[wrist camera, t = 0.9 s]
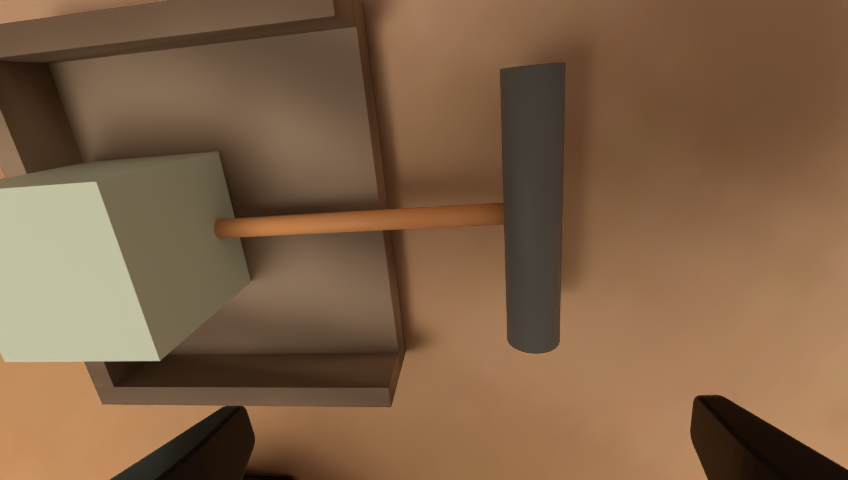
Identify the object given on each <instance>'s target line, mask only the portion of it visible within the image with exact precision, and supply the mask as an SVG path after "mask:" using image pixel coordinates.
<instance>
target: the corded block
mask: <svg viewBox="0 0 848 480" xmlns="http://www.w3.org/2000/svg"><path fill="white" fill-rule="evenodd" d="M500 86H501V123H502V160H503V197H504V203H492V204H474V205H457V206H439V207H421V208H404V209H386V210H369V211H351V212H334V213H316V214H299V215H281V216H263V217H246V218H235V216H234V212H233V208H232V204H231V200H230V196H229V192H228V188H227V184H226V180H225V176H224V172H223V168H222V164H221V160H220V156H219V152H218V151H215V152H202V153H190V154H178V155H165V156H153V157H141V158H129V159H116V160H104V161H92V162H86V163H81V164H76V165H71V166H66V167H60V168H55V169H50V170H45V171H40V172H35V173H29V174H24V175H19V176H14V177H9V178H4V179H0V353H1V355H2V357H3V359H4V361H5V362H84V361H161V360H162V359H163V358H164V357H165V356H166V355H167V354H169V353H170V352H171V351H172V350H173V349H174V348H176V347H177V346H178V345H179V344H180V343H181V342H182V341H184V340H185V339H186V338H187V337H188V336H189V335H190V334H192V333H193V332H194V331H195V330H196V329H197V328H199V327H200V326H201V325H202V324H203V323H204V322H205V321H207V320H208V319H209V318H210V317H211V316H212V315H214V314H215V313H216V312H217V311H218V310H219V309H220V308H222V307H223V306H224V305H225V304H226V303H227V302H229V301H230V300H231V299H232V298H233V297H234V296H235V295H237V294H238V293H239V292H240V291H241V290H242V289H243V288H245V287H246V286H247V285H248V284H249V283H250V282H251V279H250V275H249V271H248V268H247V264H246V260H245V256H244V252H243V248H242V244H241V240H240V237H258V236H278V235H298V234H318V233H338V232H358V231H378V230H398V229H418V228H438V227H458V226H478V225H498V224H504V234H505V271H506V308H507V339H508V342H509V344H510V345H511V346H512V347H514V348H515V349H517V350H520V351H522V352H526V353H536V354H537V353H545V352H549V351H551V350H553V349H555V348H556V347H557V346H558V345H559V342H560V296H561V249H562V202H563V155H564V108H565V63H549V64H538V65H529V66H520V67H512V68H505V69H500Z"/></svg>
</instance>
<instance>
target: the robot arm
mask: <svg viewBox="0 0 848 480" xmlns="http://www.w3.org/2000/svg"><path fill="white" fill-rule="evenodd" d="M690 433H691V439H692V443H693V445H694V448H695V450H696V452H697V455H698V457H699V460H700V462H701V464H702V467H703V469H704V471H705V474H706V476H707V478H708V480H848V470H847V469H845V468H844V467H842V466H840V465H839V464H837V463H835V462H834V461H832V460H830V459H829V458H827V457H825V456H823V455H822V454H820V453H818V452H817V451H815V450H813V449H812V448H810V447H808V446H806V445H805V444H803V443H801V442H800V441H798V440H796V439H795V438H793V437H791V436H790V435H788V434H786V433H784V432H783V431H781V430H779V429H778V428H776V427H774V426H773V425H771V424H769V423H767V422H766V421H764V420H762V419H761V418H759V417H757V416H756V415H754V414H752V413H750V412H749V411H747V410H745V409H744V408H742V407H740V406H739V405H737V404H735V403H734V402H732V401H730V400H728V399H727V398H725V397H723V396H720V395H699V396H696V397H695V399H694V402H693V409H692V419H691V428H690ZM254 443H255V435H254V432H253V429H252V425H251V422H250V419H249V416H248V413H247V410H246V409H245V408H244V407H243V406H225V407H222V408H221V409H219V410H218V411H216V412H214V413H213V414H211V415H210V416H208V417H207V418H205V419H204V420H202V421H200V422H199V423H197V424H196V425H194V426H193V427H191V428H189V429H188V430H186V431H185V432H183V433H182V434H180V435H179V436H177V437H175V438H174V439H172V440H171V441H169V442H168V443H166V444H165V445H163V446H161V447H160V448H158V449H157V450H155V451H154V452H152V453H151V454H149V455H147V456H146V457H144V458H143V459H141V460H140V461H138V462H137V463H135V464H133V465H132V466H130V467H129V468H127V469H126V470H124V471H123V472H121V473H119V474H118V475H116V476H115V477H113V478H112V479H110V480H294V479H292V478H290V477H275V476H246V475H244V472H245V469H246V467H247V464H248V461H249V458H250V456H251V453H252V450H253V447H254Z"/></svg>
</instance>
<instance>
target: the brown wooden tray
mask: <svg viewBox="0 0 848 480" xmlns="http://www.w3.org/2000/svg"><path fill="white" fill-rule="evenodd" d="M215 151H218V152H219V156H220V160H221V164H222V168H223V172H224V176H225V180H226V184H227V188H228V192H229V196H230V200H231V204H232V208H233V212H234V216H235V218H246V217H263V216H281V215H299V214H316V213H334V212H351V211H369V210H386V209H388V204H387V196H386V188H385V180H384V172H383V164H382V155H381V147H380V139H379V131H378V123H377V115H376V107H375V98H374V90H373V82H372V74H371V66H370V58H369V49H368V41H367V33H366V25H365V17H364V9H363V3H361V2H360V1H359V0H171V1H164V2H156V3H149V4H142V5H135V6H127V7H120V8H113V9H106V10H98V11H91V12H84V13H76V14H69V15H62V16H55V17H47V18H40V19H33V20H26V21H18V22H11V23H4V24H0V166H1V168H2V171H3V173H4V175H5V178H9V177H14V176H19V175H24V174H29V173H35V172H40V171H45V170H50V169H55V168H60V167H66V166H71V165H76V164H81V163H86V162H92V161H104V160H116V159H129V158H141V157H153V156H165V155H178V154H190V153H202V152H215ZM240 240H241V244H242V248H243V252H244V256H245V260H246V264H247V268H248V271H249V275H250V279H251V282H250V283H249V284H248V285H247V286H246V287H245V288H243V289H242V290H241V291H240V292H239V293H238V294H237V295H235V296H234V297H233V298H232V299H231V300H230V301H229V302H227V303H226V304H225V305H224V306H223V307H222V308H220V309H219V310H218V311H217V312H216V313H215V314H214V315H212V316H211V317H210V318H209V319H208V320H207V321H205V322H204V323H203V324H202V325H201V326H200V327H199V328H197V329H196V330H195V331H194V332H193V333H192V334H190V335H189V336H188V337H187V338H186V339H185V340H184V341H182V342H181V343H180V344H179V345H178V346H177V347H176V348H174V349H173V350H172V351H171V352H170V353H169V354H167V355H166V356H165V357H164V358H163V359H162V360H161V361H84V363H85V365H86V367H87V370H88V372H89V374H90V377H91V379H92V381H93V384H94V386H95V388H96V391H97V393H98V395H99V398H100V400H101V402H102V404H122V405H223V406H325V407H391V406H392V402H393V398H394V394H395V390H396V387H397V383H398V379H399V375H400V371H401V367H402V364H403V360H404V356H405V352H406V351H405V343H404V335H403V327H402V319H401V310H400V302H399V294H398V286H397V278H396V270H395V261H394V253H393V245H392V237H391V230H378V231H358V232H338V233H318V234H298V235H278V236H258V237H240Z"/></svg>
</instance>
